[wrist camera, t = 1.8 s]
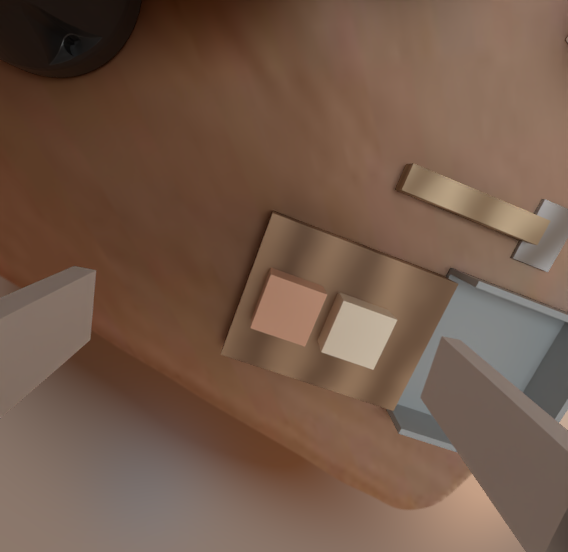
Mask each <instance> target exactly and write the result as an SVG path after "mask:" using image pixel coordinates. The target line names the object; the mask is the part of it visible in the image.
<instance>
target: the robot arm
mask: <svg viewBox="0 0 568 552" xmlns="http://www.w3.org/2000/svg"><path fill="white" fill-rule="evenodd" d="M140 5H141V0H0V59H1V60H3V61H5V62H7V63H9V64H11V65H13V66H16V67H18V68H20V69H22V70H25V71H27V72H30V73H33V74H37V75H41V76H47V77H72V76H77V75H81V74H85V73H88V72H90V71H93V70H95V69H97V68H98V67H100V66H102V65H103V64H105V63H106V62H107V61H109V60H110V59H111V58H112V57H113V56H115V55H116V53H117V52H118V51H119V50H120V49H121V48H122V46H123V45H124V44H125V42H126V41H127V39H128V38H129V36H130V34H131V32H132V30H133V28H134V26H135V23H136V20H137V17H138V14H139V10H140ZM95 278H96V270H92V269H87V268H82V267H77V266H73V267H71V268H68V269H66V270H64V271H61V272H59V273H57V274H54V275H52V276H50V277H47V278H45V279H43V280H40V281H38V282H36V283H33V284H31V285H29V286H26V287H24V288H22V289H19V290H17V291H15V292H12V293H11V294H8V295H5V296H3V297H1V298H0V418H1V417H3V416H4V415H5V414H6V413H7V412H8V411H9V410H11V409H12V408H13V407H14V406H15V405H16V404H17V403H18V402H20V401H21V400H22V399H23V398H24V397H25V396H27V395H28V394H29V393H30V392H31V391H32V390H34V388H36V387H37V386H38V385H39V384H40V383H42V382H43V381H44V380H45V379H46V378H47V377H48V376H50V375H51V374H52V373H53V372H54V371H55V370H56V369H57V368H59V367H60V366H61V365H62V364H63V363H64V362H66V361H67V360H68V359H69V358H70V357H71V356H72V355H73V354H75V353H76V352H77V351H78V350H79V349H80V348H81V347H83V346H84V345H85V344H86V343H87V342H88V341H90V337H91V325H92V314H93V302H94V290H95ZM420 398H421V400H422V401H423V402H424V404H425V405H426V407H427V408H428V410H429V411H430V413H431V414H432V416H433V417H434V419H435V420H436V421H437V423H438V424H439V426H440V427H441V429H442V430H443V432H444V433H445V435H446V436H447V437H448V439H449V440H450V442H451V443H452V445H453V446H454V448H455V449H456V451H457V452H458V454H459V455H460V456H461V458H462V459H463V461H464V462H465V464H466V465H467V467H468V468H469V470H470V471H471V472H472V474H473V475H474V477H475V478H476V480H477V481H478V483H479V484H480V486H481V487H482V488H483V490H484V491H485V493H486V494H487V496H488V497H489V499H490V500H491V502H492V503H493V504H494V506H495V507H496V509H497V510H498V512H499V513H500V515H501V516H502V518H503V519H504V521H505V522H506V524H507V525H508V526H509V528H510V529H511V531H512V532H513V534H514V535H515V537H516V538H517V540H518V541H519V542H520V544H521V545H522V547H523V548H524V550H525V551H526V552H568V430H567V429H565V428H564V427H563V426H562V425H561V424H559V423H558V422H557V421H556V420H555V419H554V418H552V417H551V416H550V415H549V414H548V413H546V412H545V411H544V410H543V409H542V408H541V407H539V406H538V405H537V404H536V403H535V402H533V401H532V400H531V399H530V398H529V397H527V396H526V395H525V394H524V393H523V392H522V391H520V390H519V389H518V388H517V387H516V386H514V385H513V384H512V383H511V382H510V381H508V380H507V379H506V378H505V377H504V376H503V375H501V374H500V373H499V372H498V371H497V370H495V369H494V368H493V367H492V366H491V365H489V364H488V363H487V362H486V361H485V360H484V359H482V358H481V357H480V356H479V355H478V354H476V353H475V352H474V351H473V350H472V349H470V348H469V347H468V346H467V345H466V344H465V343H463V342H462V341H461V340H459V339H453V338H448V337H443V336H442V337H441V339H440V342H439V345H438V348H437V351H436V354H435V357H434V360H433V362H432V365H431V368H430V371H429V374H428V377H427V380H426V382H425V385H424V388H423V391H422V394H421V397H420Z"/></svg>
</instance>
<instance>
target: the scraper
mask: <svg viewBox="0 0 568 552" xmlns="http://www.w3.org/2000/svg"><path fill="white" fill-rule="evenodd" d="M395 190H397V191H399V192H402V193H404V194H407V195H409V196H412V197H414V198H417V199H419V200H421V201H424V202H426V203H429V204H431V205H434V206H436V207H439V208H441V209H444V210H446V211H449V212H451V213H453V214H456V215H458V216H461V217H463V218H466V219H468V220H471V221H473V222H476V223H478V224H480V225H483V226H485V227H488V228H490V229H493V230H495V231H498V232H500V233H503V234H505V235H508V236H510V237H512V238H515V239H517V240H520V241H519V242H518V244H517V246H516V248H515V250H514V252H513V254H512V255H511V258H513V259H516V260H518V261H521V262H523V263H526V264H528V265H531V266H533V267H536V268H538V269H541V270H543V271H546V272H548V271H549V269H550V268H551V266H552V264H553V262H554V261H555V259H556V257H557V255H558V254H559V252H560V250H561V249H562V247H563V245H564V243H565V242H566V240H567V238H568V209H567V208H564V207H562V206H560V205H557V204H555V203H553V202H550V201H548V200H546V199H542V200H541V202H540V203H539V205H538V207H537V209H536V211H535V213H534V214H533V213H531V212H528V211H526V210H524V209H521V208H519V207H516V206H514V205H512V204H509V203H507V202H505V201H502V200H500V199H497V198H495V197H493V196H490V195H488V194H485V193H483V192H481V191H478V190H476V189H473V188H471V187H469V186H466V185H464V184H462V183H459V182H457V181H454V180H452V179H450V178H447V177H445V176H442V175H440V174H438V173H435V172H433V171H431V170H428V169H426V168H423V167H421V166H419V165H416V164H414V163H413V164H406V166H405V168H404V170H403V172H402V175H401V177H400V179H399V181H398V184H397V186H396V188H395Z"/></svg>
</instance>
